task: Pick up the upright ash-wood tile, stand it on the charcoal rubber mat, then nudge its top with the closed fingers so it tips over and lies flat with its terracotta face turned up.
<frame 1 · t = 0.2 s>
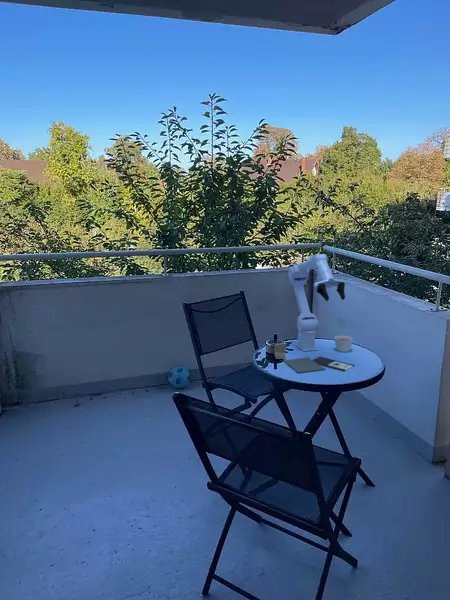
hand: (335, 299, 183), 31 cm above the table, tool tilted 45°, fingers open, 7 cm apart
ash tile: (280, 359, 200), on the table
chocolate bar: (331, 365, 193), on the table
rubber mat: (303, 365, 192), on the table
candle: (343, 350, 212), on the table
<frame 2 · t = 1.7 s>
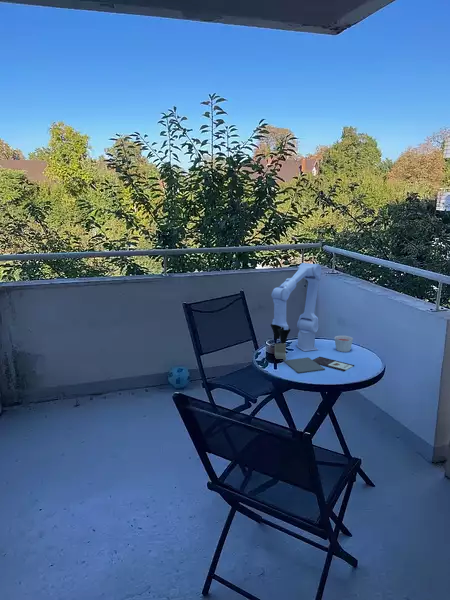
hand: (280, 340, 198), 9 cm above the table, tool pointing down, fingers open, 7 cm apart
nothing on the table moved.
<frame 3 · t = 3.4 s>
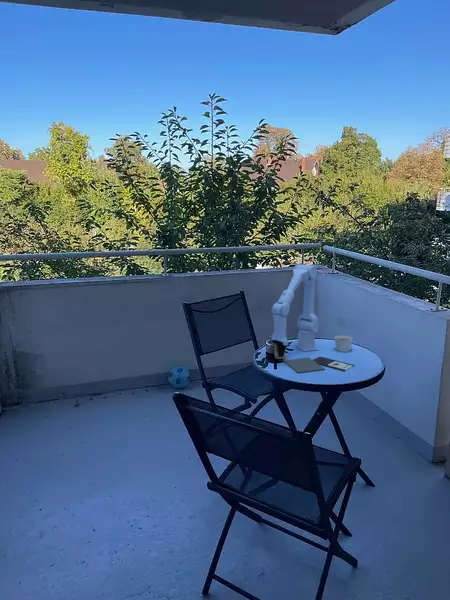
hand: (280, 355, 200), 2 cm above the table, tool pointing down, fingers closed on ash tile, 2 cm apart
ash tile: (279, 359, 200), on the table, touching gripper
everything else where it was.
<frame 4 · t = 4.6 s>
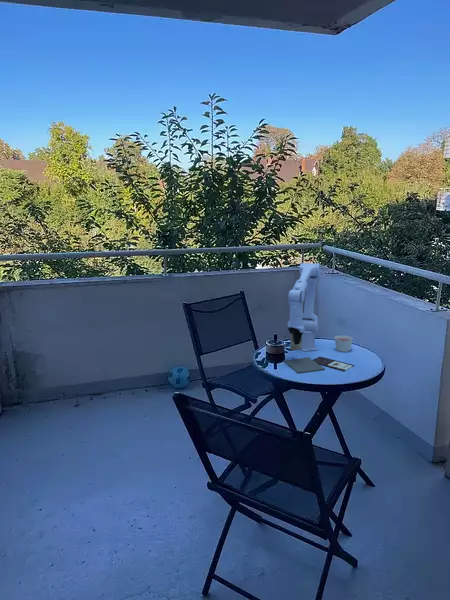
hand: (295, 343, 195), 9 cm above the table, tool pointing down, fingers closed on ash tile
ash tile: (296, 349, 196), point 6 cm above the table, touching gripper
everything else where it was.
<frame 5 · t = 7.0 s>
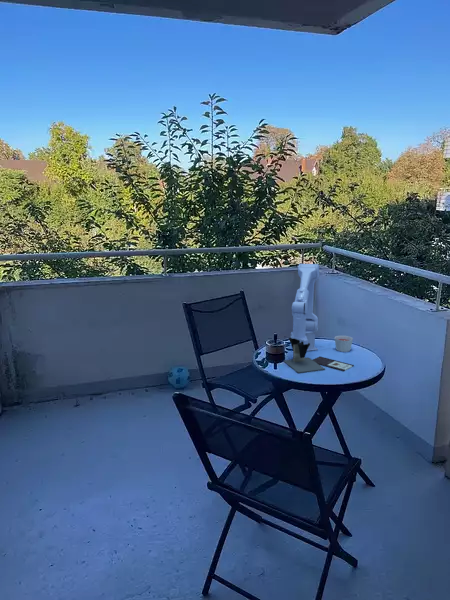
hand: (298, 354, 196), 4 cm above the table, tool pointing down, fingers open, 7 cm apart
ash tile: (298, 360, 196), point 1 cm above the table, touching rubber mat
everything else where it was.
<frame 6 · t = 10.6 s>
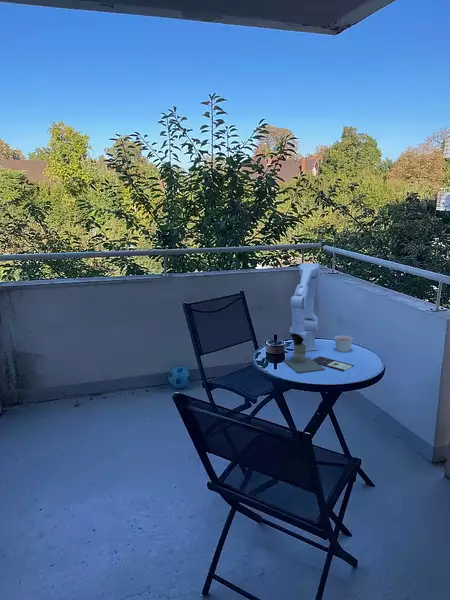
hand: (297, 349, 196), 6 cm above the table, tool pointing down, fingers closed
ash tile: (298, 360, 196), point 1 cm above the table, tilted 8°, touching gripper, rubber mat
everything else where it was.
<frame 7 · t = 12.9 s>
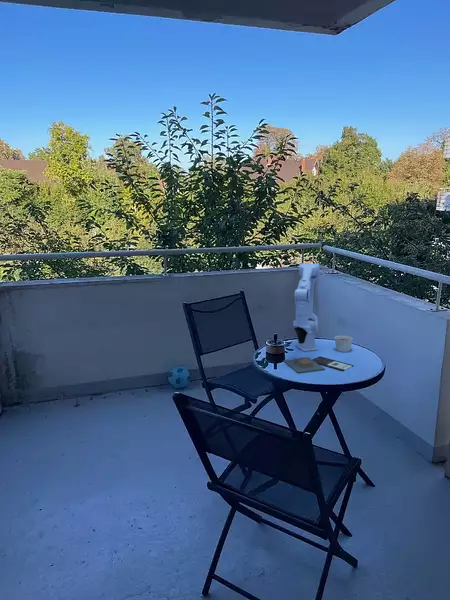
hand: (301, 343, 193), 10 cm above the table, tool pointing down, fingers closed
ash tile: (299, 359, 195), point 1 cm above the table, tilted 90°, touching rubber mat
everything else where it was.
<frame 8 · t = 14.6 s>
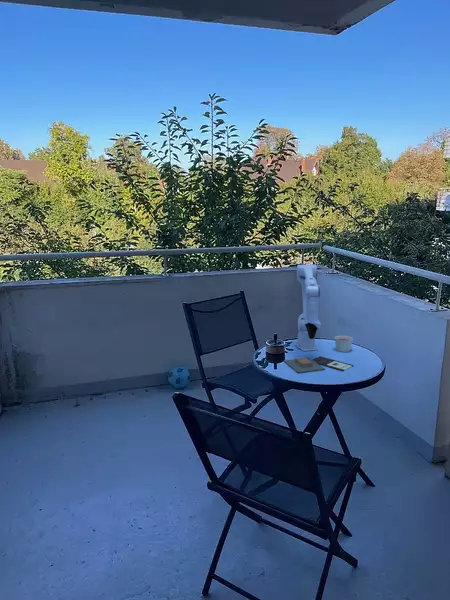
hand: (311, 338, 199), 10 cm above the table, tool pointing down, fingers closed
nothing on the table moved.
at the end: ash tile tilted 90°; ash tile inside the target area on the rubber mat (2.0 cm from its centre), point 1.5 cm above the rubber mat's base; ash tile touching rubber mat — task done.
